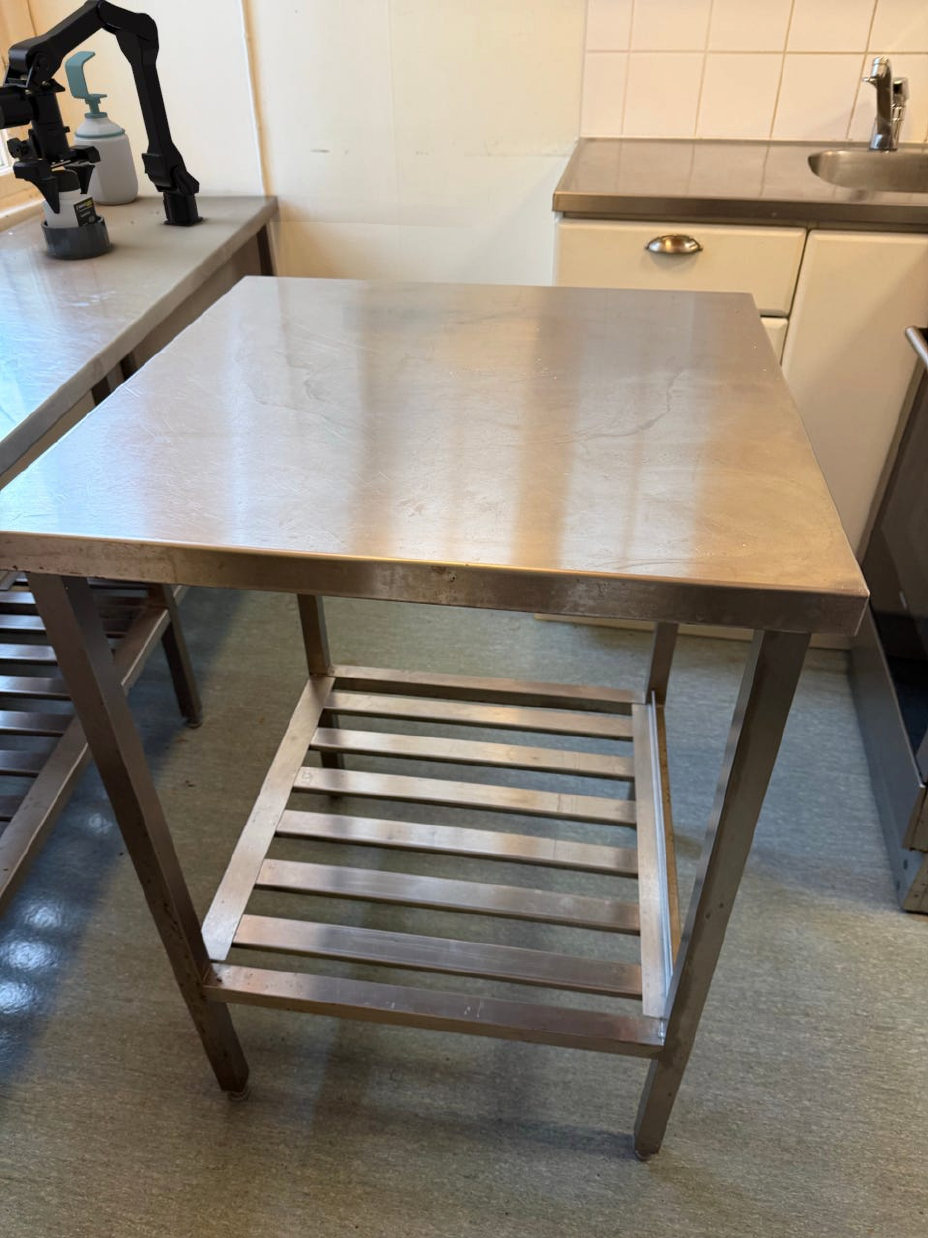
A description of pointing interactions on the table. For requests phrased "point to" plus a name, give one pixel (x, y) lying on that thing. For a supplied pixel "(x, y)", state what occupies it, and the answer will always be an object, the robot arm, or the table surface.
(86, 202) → the medicine bottle
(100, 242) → the dark grey round bowl
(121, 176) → the soap bottle
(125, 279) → the table surface
